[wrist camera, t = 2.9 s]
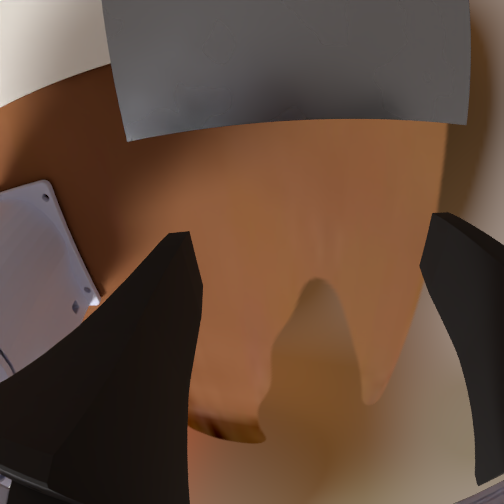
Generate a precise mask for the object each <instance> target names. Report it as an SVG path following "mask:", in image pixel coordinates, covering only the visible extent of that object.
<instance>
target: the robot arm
mask: <svg viewBox="0 0 504 504" xmlns="http://www.w3.org/2000/svg"><path fill="white" fill-rule="evenodd" d="M45 194H46V195H48V197H49V199H48V198H47V197H46V196H45ZM420 269H421V272H422V275H423V278H424V281H425V283H426V286H427V289H428V292H429V294H430V296H431V298H432V300H433V302H434V304H435V306H436V309H437V311H438V312H439V314H440V316H441V319H442V321H443V323H444V325H445V327H446V329H447V332H448V334H449V336H450V338H451V340H452V342H453V345H454V347H455V349H456V352H457V355H458V357H459V360H460V363H461V367H462V371H463V374H464V378H465V382H466V386H467V390H468V395H469V400H470V405H471V411H472V418H473V426H474V436H475V477H476V481H477V484H478V486H480V485H482V484H484V483H486V482H488V481H490V480H492V479H494V478H496V477H498V476H500V475H502V474H504V245H502V244H501V243H500V242H498V241H496V240H495V239H493V238H492V237H491V236H489V235H487V234H486V233H484V232H483V231H481V230H479V229H478V228H476V227H475V226H473V225H471V224H470V223H468V222H466V221H464V220H463V219H461V218H459V217H457V216H455V215H453V214H451V213H448V212H447V213H432V217H431V221H430V226H429V230H428V235H427V239H426V243H425V247H424V251H423V255H422V258H421V262H420ZM87 287H88V288H87ZM202 296H203V284H202V280H201V276H200V272H199V268H198V264H197V260H196V256H195V252H194V248H193V244H192V240H191V236H190V232H189V231H187V232H177V233H169V234H168V235H167V236H166V237H165V238H164V239H163V240H162V241H161V242H160V243H159V244H158V245H157V246H156V247H155V248H154V249H153V251H152V252H151V253H150V254H149V255H148V256H147V257H146V258H145V259H144V261H143V262H142V263H141V264H140V265H139V266H138V267H137V268H136V269H135V270H134V272H133V273H132V274H131V275H130V276H129V277H128V278H127V279H126V280H125V281H124V282H123V283H122V284H121V285H120V286H119V287H118V288H117V289H116V290H115V291H114V293H113V294H112V295H111V296H110V297H109V298H108V299H107V300H106V301H105V302H104V303H103V304H102V305H101V306H100V307H99V308H98V309H97V310H96V311H94V312H93V313H92V314H91V315H90V316H89V317H88V318H87V319H86V320H85V321H83V322H82V320H83V318H84V315H85V313H86V311H87V309H88V306H89V305H98V304H99V303H100V301H101V297H100V295H99V293H98V291H97V289H96V287H95V285H94V283H93V281H92V279H91V277H90V275H89V273H88V271H87V269H86V267H85V265H84V263H83V260H82V258H81V256H80V254H79V252H78V250H77V247H76V245H75V243H74V241H73V238H72V236H71V234H70V231H69V229H68V226H67V224H66V222H65V219H64V217H63V214H62V212H61V209H60V207H59V204H58V201H57V199H56V196H55V194H54V191H53V188H52V185H51V184H50V182H49V181H47V180H40V181H36V182H33V183H29V184H26V185H22V186H19V187H15V188H12V189H9V190H5V191H2V192H0V504H190V500H189V487H188V464H187V421H188V396H189V387H190V379H191V373H192V367H193V361H194V355H195V350H196V344H197V338H198V332H199V327H200V321H201V314H202ZM81 322H82V323H81ZM10 485H11V486H10ZM9 486H10V488H8V487H9ZM454 504H504V480H503V481H501V482H499V483H497V484H496V485H493V486H491V487H489V488H487V489H485V490H483V491H481V492H479V493H477V494H475V495H473V496H471V497H468V498H466V499H463V500H461V501H459V502H456V503H454Z"/></svg>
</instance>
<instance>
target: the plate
mask: <svg viewBox="0 0 504 504" xmlns="http://www.w3.org/2000/svg"><path fill="white" fill-rule="evenodd" d="M107 64H111V61H110V56H109V50H108V43H107V37H106V31H105V24H104V16H103V9H102V1H101V0H0V107H2V106H5V105H7V104H9V103H11V102H13V101H15V100H17V99H19V98H21V97H23V96H25V95H28V94H30V93H32V92H34V91H37V90H39V89H41V88H44V87H46V86H48V85H51V84H53V83H56V82H58V81H61V80H64V79H66V78H69V77H72V76H74V75H77V74H80V73H83V72H86V71H89V70H92V69H95V68H98V67H101V66H104V65H107Z"/></svg>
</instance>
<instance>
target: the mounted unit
mask: <svg viewBox="0 0 504 504" xmlns="http://www.w3.org/2000/svg"><path fill="white" fill-rule="evenodd" d="M101 1H102V9H103V16H104V24H105V31H106V37H107V43H108V50H109V56H110V61H111V67H112V72H113V78H114V83H115V88H116V93H117V98H118V103H119V107H120V112H121V116H122V121H123V125H124V130H125V134H126V138H127V142H129V141H134V140H139V139H144V138H149V137H155V136H160V135H166V134H172V133H178V132H185V131H191V130H198V129H206V128H213V127H222V126H230V125H240V124H250V123H261V122H274V121H290V120H310V119H394V120H414V121H429V122H441V123H452V124H461V125H466V124H467V114H468V103H469V89H470V68H471V67H470V66H471V30H470V11H469V0H101Z"/></svg>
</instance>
